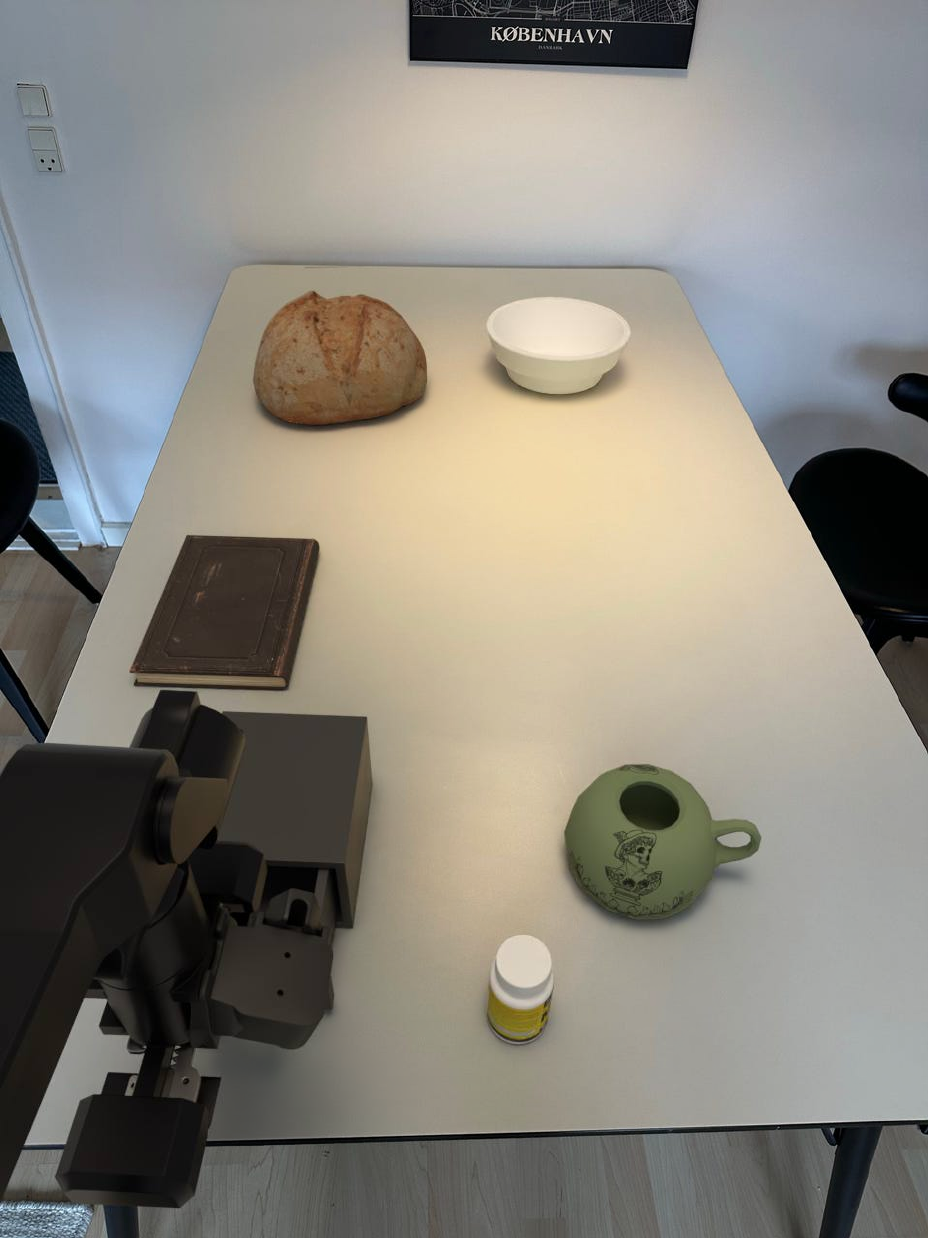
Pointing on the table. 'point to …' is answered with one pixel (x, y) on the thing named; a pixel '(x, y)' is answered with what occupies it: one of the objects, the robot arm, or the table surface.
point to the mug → (647, 842)
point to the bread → (338, 360)
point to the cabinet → (304, 795)
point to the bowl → (557, 342)
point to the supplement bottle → (520, 989)
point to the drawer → (306, 880)
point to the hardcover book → (229, 614)
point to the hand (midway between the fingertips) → (203, 1064)
